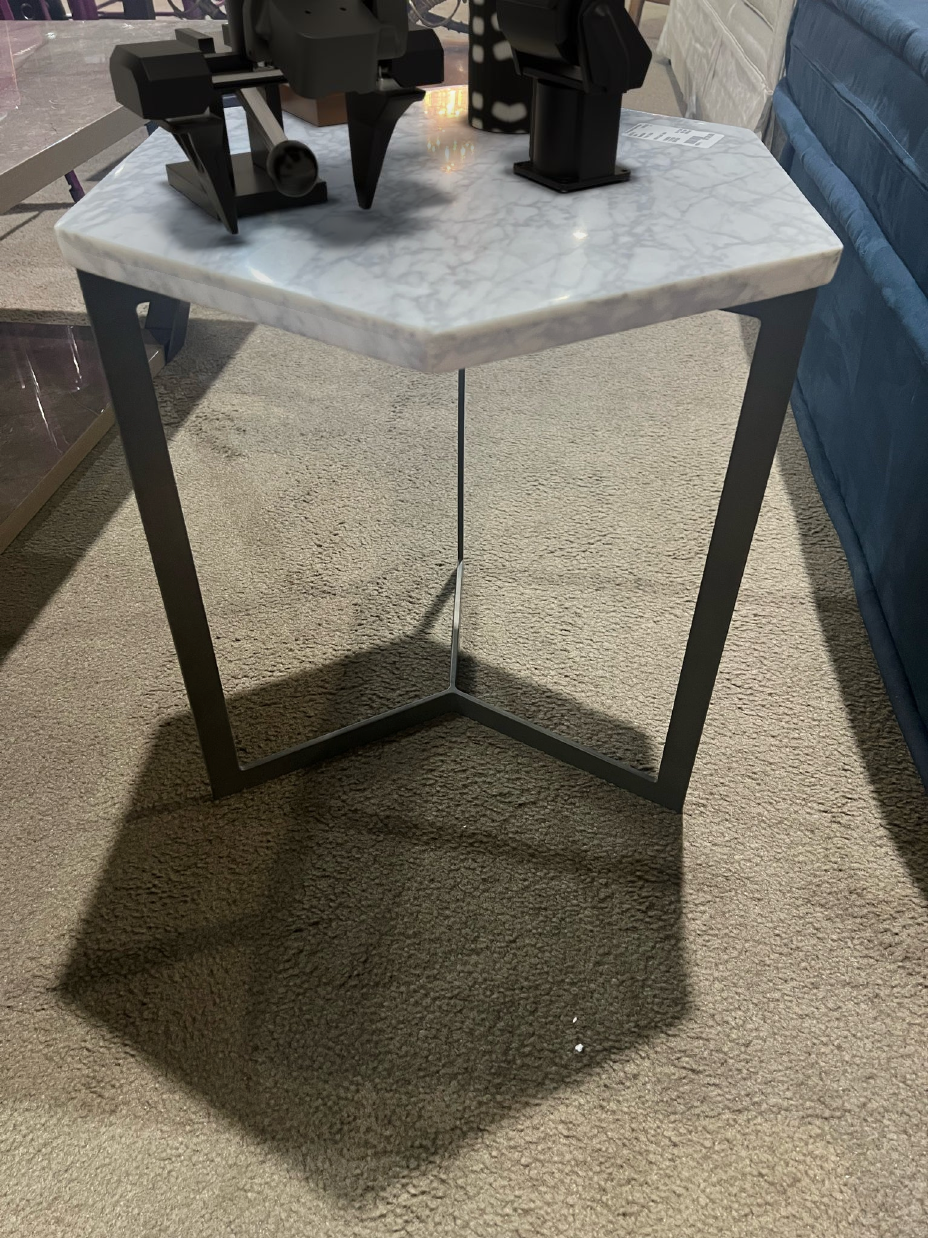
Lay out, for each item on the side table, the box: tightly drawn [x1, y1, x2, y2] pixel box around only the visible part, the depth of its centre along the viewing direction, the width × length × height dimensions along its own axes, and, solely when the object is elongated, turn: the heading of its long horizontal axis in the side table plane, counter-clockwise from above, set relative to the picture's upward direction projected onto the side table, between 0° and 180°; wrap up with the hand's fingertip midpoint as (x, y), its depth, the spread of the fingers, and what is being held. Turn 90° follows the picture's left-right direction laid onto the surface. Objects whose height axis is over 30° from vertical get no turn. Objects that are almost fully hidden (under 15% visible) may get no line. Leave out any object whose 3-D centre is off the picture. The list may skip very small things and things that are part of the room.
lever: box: [203, 30, 320, 197], centre depth 59 cm, size 13×3×3 cm, turn 32°
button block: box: [279, 83, 348, 127], centre depth 84 cm, size 10×8×4 cm
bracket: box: [165, 27, 329, 222], centre depth 62 cm, size 10×8×10 cm
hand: (300, 219), depth 59 cm, fingers open, 9 cm apart
